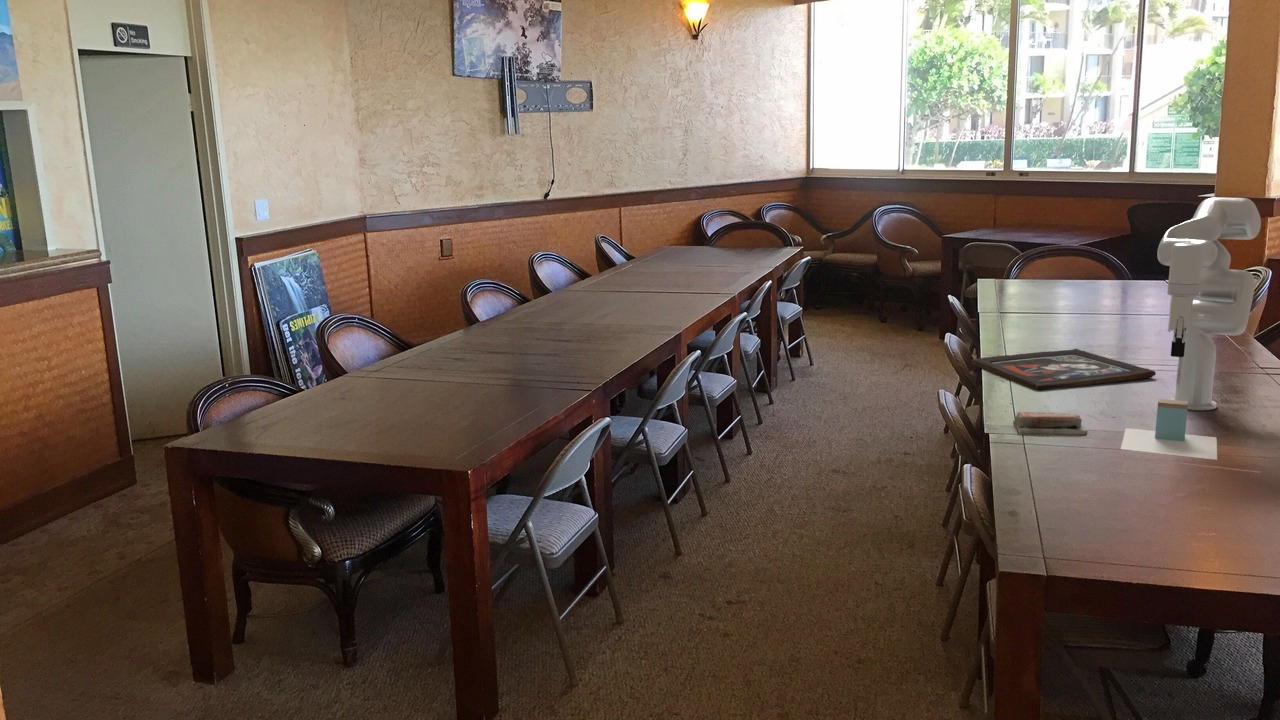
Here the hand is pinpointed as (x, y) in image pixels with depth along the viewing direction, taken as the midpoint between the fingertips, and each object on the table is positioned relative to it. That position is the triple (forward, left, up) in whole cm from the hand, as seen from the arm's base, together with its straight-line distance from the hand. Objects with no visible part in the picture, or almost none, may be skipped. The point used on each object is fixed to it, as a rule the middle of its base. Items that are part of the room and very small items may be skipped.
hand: (1177, 356), depth 278 cm
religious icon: (-58, -35, -22) cm, 71 cm away
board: (+15, 0, -21) cm, 25 cm away
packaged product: (+12, -30, -21) cm, 39 cm away
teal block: (+10, 0, -20) cm, 23 cm away
